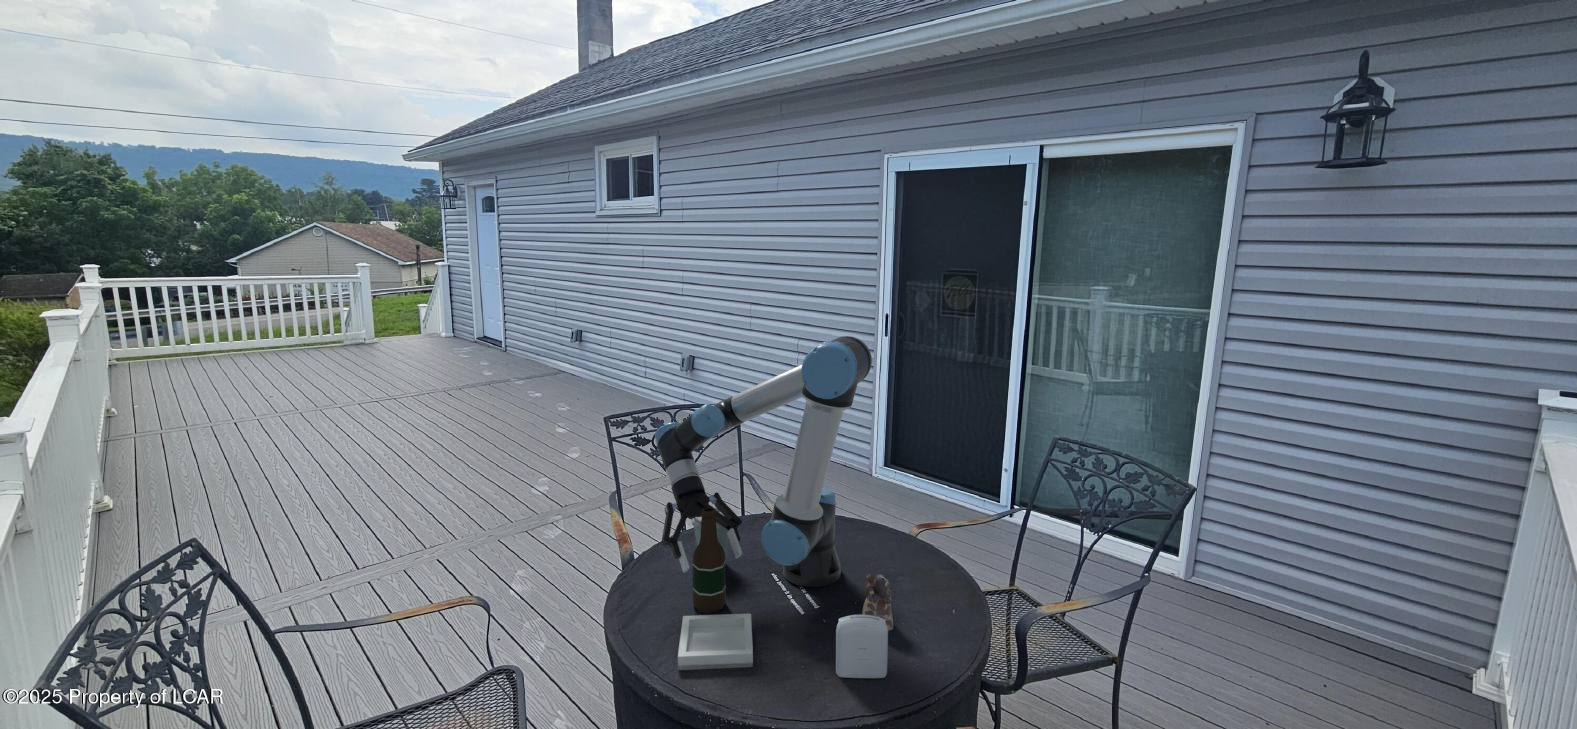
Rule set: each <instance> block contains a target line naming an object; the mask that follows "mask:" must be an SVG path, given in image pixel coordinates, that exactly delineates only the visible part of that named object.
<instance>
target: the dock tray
mask: <svg viewBox="0 0 1577 729" xmlns="http://www.w3.org/2000/svg"><path fill="white" fill-rule="evenodd" d="M681 622H682V624H681V631H680V636H679V643H678V644H679V645H678V652H677V671H694V670H714V669H715V670H717V669H737V668H741V669H742V668H753V667H754V652H753V651H754V649H753V648H754V647H753V646H754V645H753V630H752V629H753V627H752V614H751V613H731V614H728V613H727V614H725V613H724V614H703V615H702V614H699V615H683V616H682V621H681Z"/></svg>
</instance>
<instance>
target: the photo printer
mask: <svg viewBox="0 0 1577 729" xmlns="http://www.w3.org/2000/svg"><path fill="white" fill-rule="evenodd" d="M888 643H889V631H888V628H887V625H886V622H885V619H883V618H880V617H876V616H871V615H862V614H851V615H847V616H846V615H845V616H843V617H840V618H838V623H837V625H836V629H835V674H836V675H837V676H838V677H839V678H848V679H849V678H850V679H851V678H852V679H884V678H886V676H887V674H888V650H889V649H888V647H889V645H888Z"/></svg>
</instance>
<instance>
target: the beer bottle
mask: <svg viewBox="0 0 1577 729" xmlns="http://www.w3.org/2000/svg"><path fill="white" fill-rule="evenodd" d="M716 513H717V512H716V509H714V508H711V507H707V508H703V509H702V510H701V513H700V514H701V515H702V520H701V537H700V543H699V545H698V546H697V545H696V548H695V549H694V552H693V555H692V562H691V563H692V599H693V600H692V602H693V604H692V605H693V607H694V608H695V609H696V610H697V611H698V612H699V613H708V614H713V613H716V612H718V611H722V610H723V607H724V606H725V604H726V602H727V601H726V600H727V570H726V569H727V566H726V563H727V557H726V558H725V552H724V549H723V547H722V546H721V544H720V543H719V542H718V538H717V529H716V516H715V515H716Z"/></svg>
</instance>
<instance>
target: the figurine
mask: <svg viewBox="0 0 1577 729" xmlns="http://www.w3.org/2000/svg"><path fill="white" fill-rule="evenodd" d="M866 579H867V580H868V583H867V584H866V586H865V596H866V598H865V600H864V603H863V607H862V612H861V615H871V616H876V617H880V618H883V619H885V622H886V625H887V628H888V632H890V631H892V630H893V629H894V617H893V612H892V606H891V605H892V604H891V601H892V592H894V590H893V588H892V587H891V585H890V581H889V580H888V579H887V578H885V576H884V575H883V574H877V575H876V576H875V578H874V577H873V576H872V574H868V575H866ZM869 589H871V591H869Z"/></svg>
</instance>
